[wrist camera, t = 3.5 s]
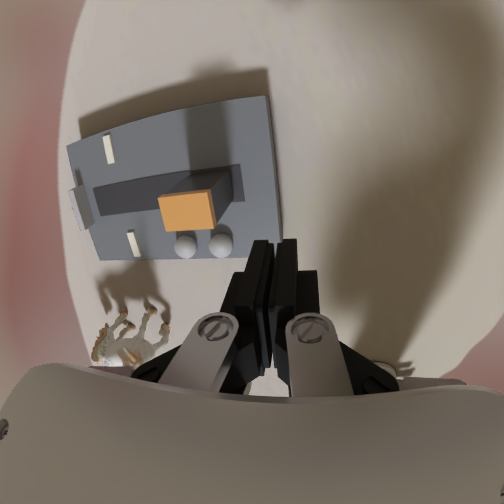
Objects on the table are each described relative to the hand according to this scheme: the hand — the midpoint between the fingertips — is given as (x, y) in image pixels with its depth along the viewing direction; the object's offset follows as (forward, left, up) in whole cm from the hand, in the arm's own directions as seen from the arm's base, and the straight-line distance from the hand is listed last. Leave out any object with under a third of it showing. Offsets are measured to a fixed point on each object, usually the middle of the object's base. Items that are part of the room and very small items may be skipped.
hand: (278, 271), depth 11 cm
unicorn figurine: (+24, +18, -19) cm, 36 cm away
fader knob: (+7, 0, -15) cm, 17 cm away
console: (+13, 0, -18) cm, 23 cm away
